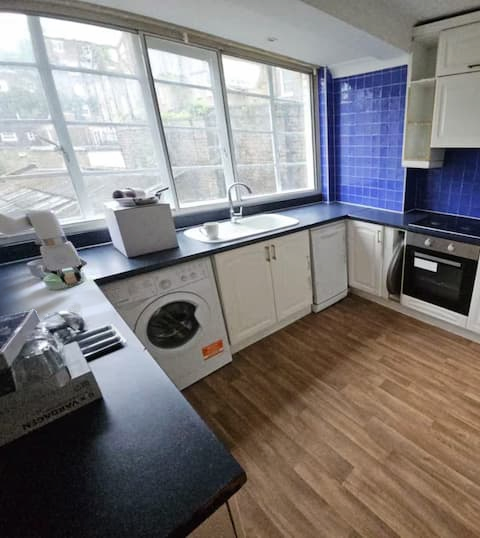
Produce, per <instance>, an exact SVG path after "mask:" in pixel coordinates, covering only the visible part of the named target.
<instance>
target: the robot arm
mask: <svg viewBox="0 0 480 538" xmlns="http://www.w3.org/2000/svg"><path fill="white" fill-rule="evenodd" d="M32 229H33V230H34V232H35V235H36V236H37V238H38V239H37V240H34V244H35V245H41V246H40V247H39V250H40V254H41V257H42V259H43V260H44V262H45V269H44V272H46V273H52V274H55V275H58V276H60V278H61V280H62V282H63V283H64V282H65V284H66V285H67V283H66V281H65V279H64V277H65V274H64V273H62V271H63V270H64V269H69V268H71V269H73V270H74V275H75V277H76V279H77V281H78V282H80V279H82V277H81V275H80V273H79V271H80V269H81V270H82V268H83V267H85V266H86V265H88V262H87V261H86V260H85V259H84V258H82V257H80V255H79V253H78V251H77V249H76V248H75V246H74V245H73V243H72V242H71V241H70V240H68V238H67V236H66V234H65V231H64V230H63V227H62V225H61V223H60V220H59V217H58V216H57V213H56V212H55V211H54V210H53V209H50V208H46V209H45V208H43V209H18V210H14V211H10V212H6V213H2V212H0V234H1V235H2V234H3V235H16V234H19V233H22V232H26V231H29V230H32Z"/></svg>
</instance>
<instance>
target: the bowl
mask: <svg viewBox="0 0 480 538" xmlns="http://www.w3.org/2000/svg"><path fill="white" fill-rule="evenodd" d="M71 272H74V270H73V268H71V269H66V270H62V273H64V274H66V273H71ZM79 273H80V275H81V277H82V279H80V282H79V283H80V284H82V283H84V282H85V281H86V280H87V277H86V274H85V272H84V270H83V269H82V268H81V269H80V271H79ZM84 280H85V281H84ZM42 281H43V283H44V285H45V287H46V288H47V289H48V290H53V291H54V290H55V291H57V290H65V289H69V288H72V287H71V286H68V285H66V284H65V282H64V283H63V282H62V280H61V278H60V276H58V275H55V274H51V275H48V276H46V277H45V278H42ZM83 281H84V282H83ZM81 282H82V283H81ZM79 283H78V285H80V284H79ZM68 287H69V288H68ZM73 287H75V286H74V285H73Z"/></svg>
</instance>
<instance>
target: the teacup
mask: <svg viewBox="0 0 480 538" xmlns="http://www.w3.org/2000/svg"><path fill="white" fill-rule="evenodd" d="M26 265H27V267H28V269H29V272H30V273H31V275H32V276H33V277H35V278H39V279H44V278H45V277H46V276H48V275H51V274H52V273H46V272H44V269H45V262H44V260H43V258H39V259H34V260H31V261H28V262H27V263H26Z"/></svg>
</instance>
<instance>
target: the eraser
mask: <svg viewBox="0 0 480 538" xmlns="http://www.w3.org/2000/svg"><path fill="white" fill-rule="evenodd" d="M64 279H65V281H66V283H67V285H68V286H73V285H76V286H78V285H79V284H78V283H79V282H78V281H77V279H76V277H75V275H74V272H71V273H66V274H65V277H64ZM77 284H78V285H77ZM73 287H74V286H73Z"/></svg>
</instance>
